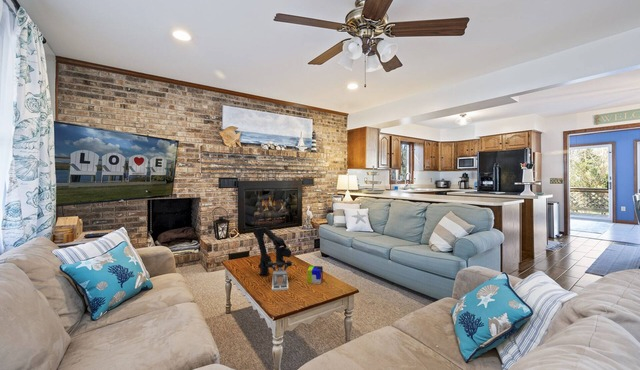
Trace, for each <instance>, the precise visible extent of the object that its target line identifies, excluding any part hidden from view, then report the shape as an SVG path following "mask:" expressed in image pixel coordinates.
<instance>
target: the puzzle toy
mask: <svg viewBox="0 0 640 370" xmlns="http://www.w3.org/2000/svg"><path fill="white" fill-rule="evenodd" d="M323 268H324V267H323V266H322V265H321V266H319V265H310V266H309V267H308V269H307V284H317V285H321V283H322V281H323V279H324V278H323V277H324V275H323V274H324V269H323Z"/></svg>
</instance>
